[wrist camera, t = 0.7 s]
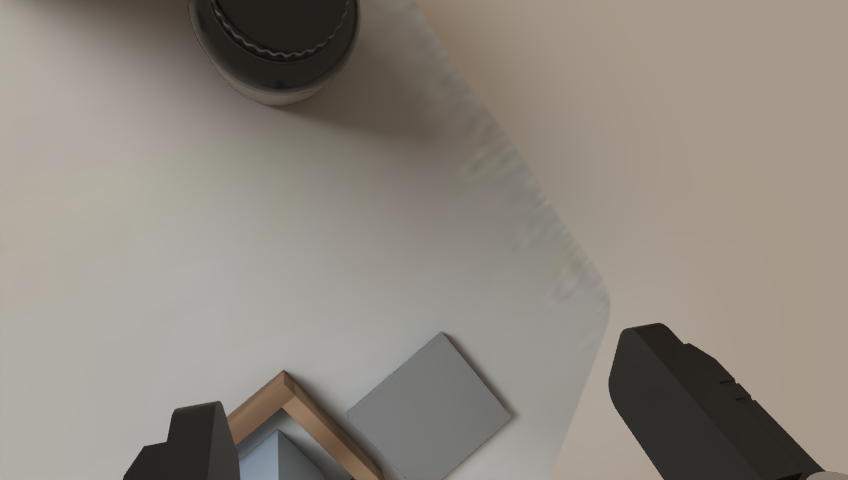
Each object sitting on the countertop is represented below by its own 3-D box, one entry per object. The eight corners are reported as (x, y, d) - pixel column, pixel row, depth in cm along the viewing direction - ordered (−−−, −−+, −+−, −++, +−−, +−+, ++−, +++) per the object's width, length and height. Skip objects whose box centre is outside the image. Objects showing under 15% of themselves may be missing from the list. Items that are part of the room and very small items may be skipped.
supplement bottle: (296, 130, 30) (310, 127, 19) (183, 57, 28) (122, 3, 17) (360, 28, 30) (413, -36, 19) (252, -53, 28) (238, -182, 17)
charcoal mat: (346, 411, 34) (348, 419, 33) (441, 331, 35) (446, 337, 34) (418, 486, 37) (422, 496, 36) (505, 410, 38) (511, 417, 37)
